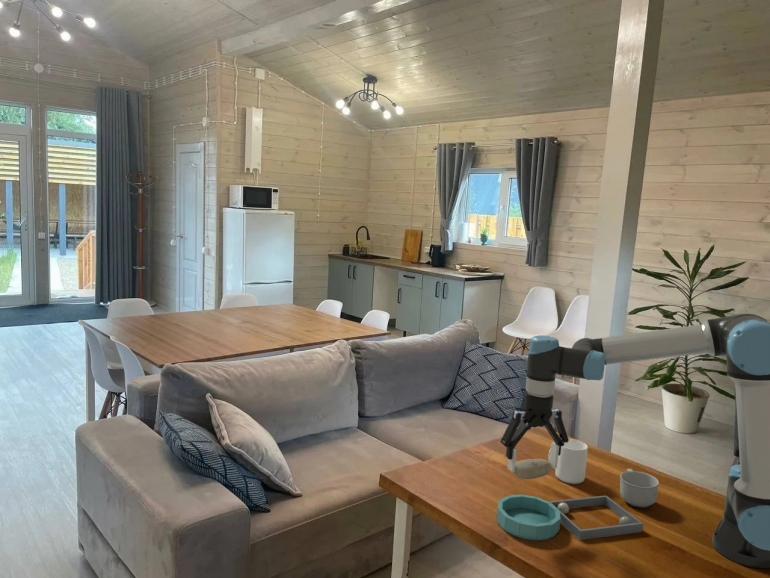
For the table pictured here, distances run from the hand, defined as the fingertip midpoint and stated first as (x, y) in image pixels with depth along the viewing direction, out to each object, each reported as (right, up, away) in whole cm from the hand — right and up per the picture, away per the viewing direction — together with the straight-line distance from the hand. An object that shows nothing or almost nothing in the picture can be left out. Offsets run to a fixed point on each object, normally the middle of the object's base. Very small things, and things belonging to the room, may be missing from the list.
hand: (532, 468), depth 162 cm
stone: (0, -3, 0) cm, 3 cm away
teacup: (+37, -16, +20) cm, 45 cm away
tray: (+19, -17, +6) cm, 26 cm away
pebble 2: (+27, -18, +3) cm, 32 cm away
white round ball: (+11, -16, +9) cm, 22 cm away
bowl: (-1, -16, +2) cm, 16 cm away
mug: (+19, -13, +33) cm, 40 cm away
